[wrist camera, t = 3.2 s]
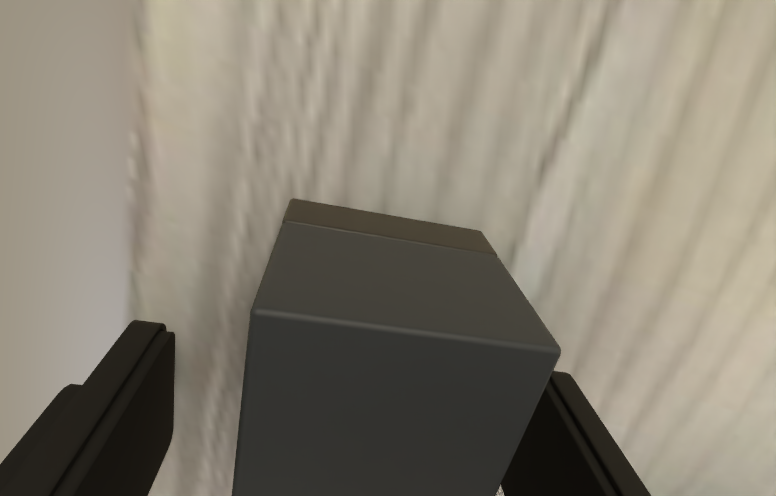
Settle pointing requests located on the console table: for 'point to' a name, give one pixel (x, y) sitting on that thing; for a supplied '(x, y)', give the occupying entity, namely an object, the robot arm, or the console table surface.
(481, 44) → the console table surface
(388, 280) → the eraser
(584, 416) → the robot arm
